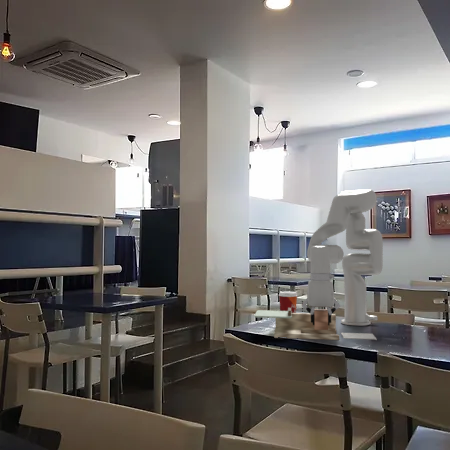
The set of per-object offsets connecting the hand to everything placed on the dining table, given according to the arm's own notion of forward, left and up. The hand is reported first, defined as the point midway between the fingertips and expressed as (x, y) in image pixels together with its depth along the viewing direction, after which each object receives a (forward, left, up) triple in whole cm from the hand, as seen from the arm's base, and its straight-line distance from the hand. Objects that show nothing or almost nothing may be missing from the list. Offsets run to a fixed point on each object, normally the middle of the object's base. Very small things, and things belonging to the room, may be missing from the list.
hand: (320, 324), depth 182 cm
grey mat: (-14, -1, -5) cm, 15 cm away
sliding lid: (+18, -1, +3) cm, 19 cm away
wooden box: (+6, -2, -5) cm, 8 cm away
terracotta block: (0, 0, -2) cm, 2 cm away
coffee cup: (+13, -19, -5) cm, 23 cm away
